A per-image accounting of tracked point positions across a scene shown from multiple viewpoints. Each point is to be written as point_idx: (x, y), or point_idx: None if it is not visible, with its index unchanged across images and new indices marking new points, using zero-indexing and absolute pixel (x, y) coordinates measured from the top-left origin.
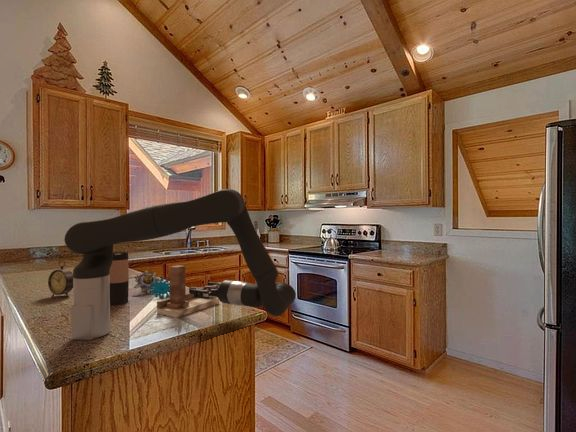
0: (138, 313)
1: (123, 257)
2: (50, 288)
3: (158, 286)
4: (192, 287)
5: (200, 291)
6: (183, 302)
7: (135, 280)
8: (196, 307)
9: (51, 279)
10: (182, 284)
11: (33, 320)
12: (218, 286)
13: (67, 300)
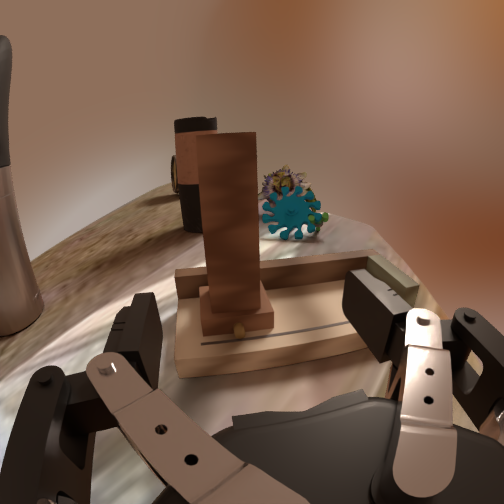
0: (162, 281)
1: (195, 125)
2: (172, 182)
3: (283, 206)
4: (130, 311)
5: (10, 457)
6: (245, 312)
7: (262, 183)
8: (298, 351)
9: (173, 169)
10: (238, 229)
11: (78, 234)
12: (362, 470)
13: (170, 203)
